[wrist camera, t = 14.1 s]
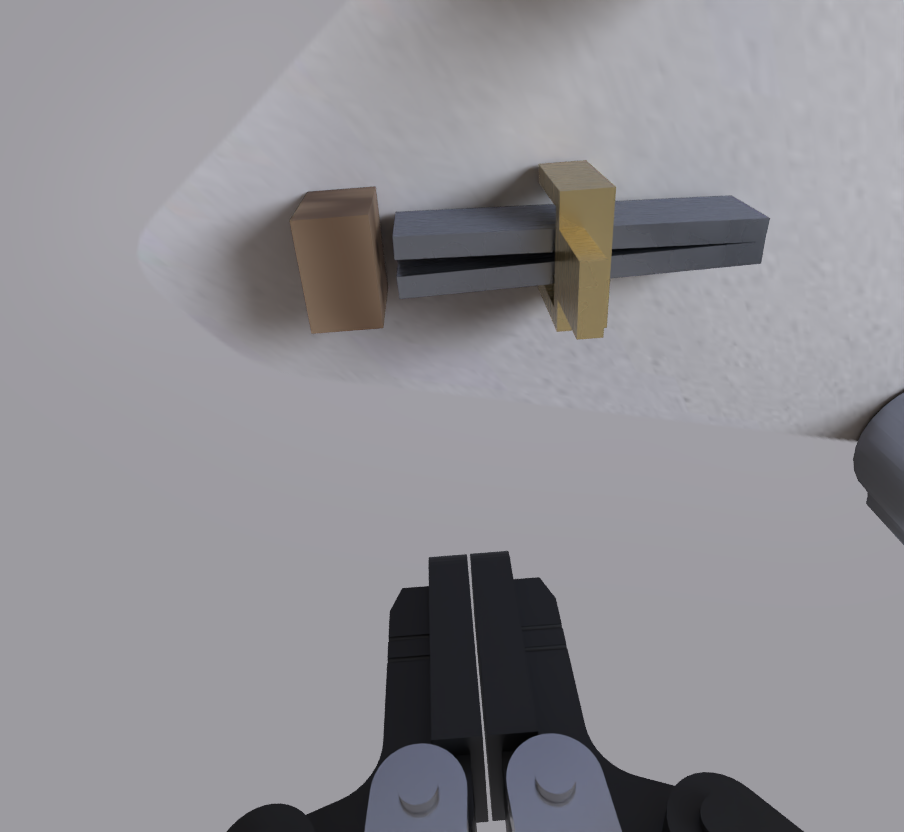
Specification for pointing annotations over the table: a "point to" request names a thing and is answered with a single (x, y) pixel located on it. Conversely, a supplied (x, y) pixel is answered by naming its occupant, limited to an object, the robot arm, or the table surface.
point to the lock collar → (579, 247)
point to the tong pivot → (341, 259)
